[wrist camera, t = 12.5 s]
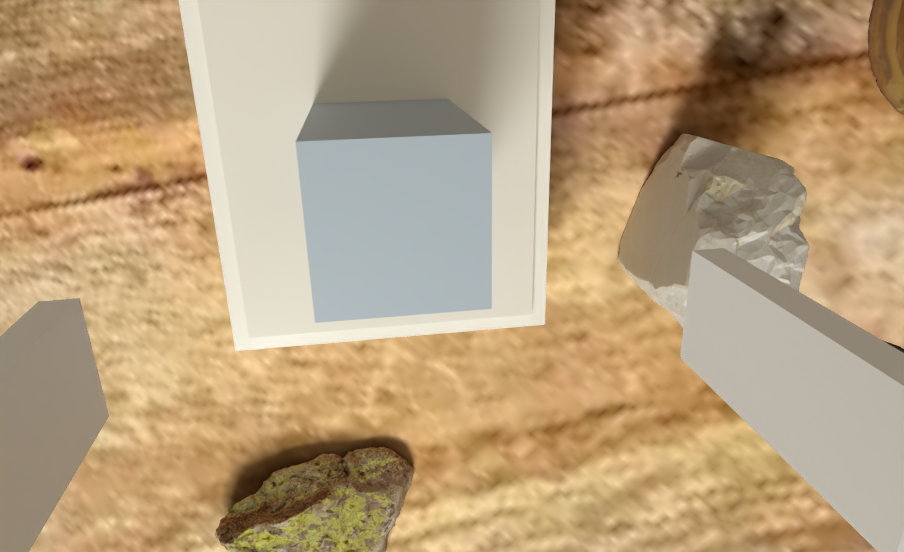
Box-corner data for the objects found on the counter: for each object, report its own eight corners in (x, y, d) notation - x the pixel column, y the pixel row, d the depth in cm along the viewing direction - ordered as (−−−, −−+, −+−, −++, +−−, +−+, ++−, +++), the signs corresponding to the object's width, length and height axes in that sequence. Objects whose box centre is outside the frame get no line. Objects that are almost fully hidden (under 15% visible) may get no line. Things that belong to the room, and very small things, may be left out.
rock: (227, 510, 46) (314, 624, 46) (189, 539, 39) (291, 674, 39) (366, 397, 47) (453, 506, 47) (353, 406, 40) (455, 535, 40)
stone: (658, 124, 38) (778, 161, 27) (732, 144, 39) (876, 188, 28) (601, 283, 41) (688, 373, 30) (671, 298, 42) (780, 389, 32)
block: (325, 233, 31) (314, 322, 22) (313, 103, 29) (295, 141, 20) (450, 225, 32) (491, 309, 22) (447, 98, 30) (492, 133, 20)
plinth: (252, 303, 38) (234, 353, 32) (202, -35, 32) (168, -49, 26) (518, 283, 40) (546, 327, 34) (523, -40, 34) (558, -53, 28)
